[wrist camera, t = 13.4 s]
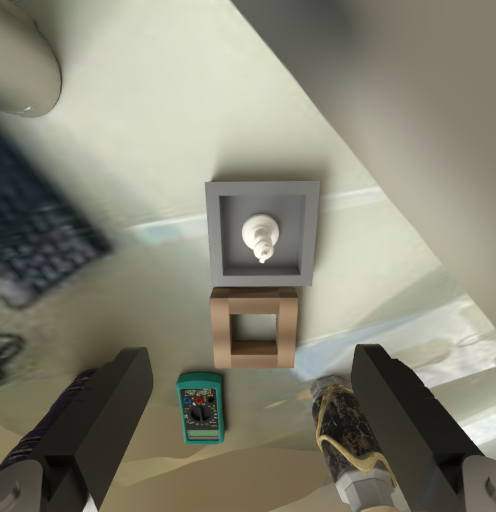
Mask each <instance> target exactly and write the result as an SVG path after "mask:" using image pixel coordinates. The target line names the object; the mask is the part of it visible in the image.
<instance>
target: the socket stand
mask: <svg viewBox="0 0 496 512" xmlns="http://www.w3.org/2000/svg"><path fill="white" fill-rule="evenodd" d="M210 308H211V321H212V335H213V349H214V363H215V368H294V358H295V343H296V328H297V313H298V295H297V293H296V290H295V288H213V290H212V293H211V296H210ZM231 314H277V317H276V341H232V323H231Z"/></svg>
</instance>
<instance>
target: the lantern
mask: <svg viewBox="0 0 496 512" xmlns="http://www.w3.org/2000/svg"><path fill="white" fill-rule="evenodd" d="M310 391H311V395H312V397H313V402H314V404H313V408H312V415H313V420H314V423H315V426H316V430H317V434H316V436H317V441H318V445H319V447H320V449H321V451H322V452H323V454H324V457H325V460H326V464H327V467H328V471H329V474H330V476H331V478H332V480H333V482H334V483H335V484H336V487H337V489H338V492H339V494H340V497H341V499H342V501H343V502H345V503H348V504H350V506H351V509H352V511H353V512H400V511H399V510H398V509H397V508H396V507H395V506H394V503H393V500H392V498H391V494H392V493H393V492H394V491H395V490H394V488H396V486H397V484H396V480H395V477H394V474H393V472H392V470H391V468H390V466H389V464H388V462H387V460H386V458H385V456H384V454H383V452H382V450H381V448H380V445H379V443H378V441H377V439H376V437H375V435H374V433H373V431H372V429H371V427H370V425H369V423H368V421H367V419H366V417H365V415H364V412H363V410H362V408H361V406H360V404H359V402H358V400H357V398H356V397H355V395H354V393H353V391H352V390H350V389H348V387H347V384H346V382H345V380H344V379H341V378H338V377H335V376H330V377H327V378H323V379H319V380H316V382H315V383H314V384H313V386H312V387H311V388H310Z"/></svg>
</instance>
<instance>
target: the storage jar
mask: <svg viewBox="0 0 496 512" xmlns="http://www.w3.org/2000/svg"><path fill="white" fill-rule="evenodd" d="M97 370H99V369H92V370H87V371H84V372H82V373H81V374H80V375H78V376H77V378H76V379H75V380H74V382H73V383H71V384H70V386H68V387H67V388H66V389H65V390H64V391H63V392H62V394H61V395H60V396H59V398H58V399H57V400H56V401H55V403H54V404H53V405H52V406H51V408H50V410H49V412H48V413H47V414H46V415H45V417H44V418H43V419H42V420H41V421H40V422H39V423H38V425H37V426H36V427H35V428H34V429H33V430H32V431H30V432H29V433H28V434H27V435H26V436H25V437H23V438H22V439H21V440H20V442H19V444H18V445H17V446H16V447H15V448H13V449H12V451H11V452H10V453H9V454H8V455H7V456H6V458H4V460H3V462H2V463H1V464H0V471H1V470H3V469H5V468H6V467H8V466H10V465H12V464H15V463H17V462H20V461H24V460H25V459H26V457H27V456H28V455H29V454H30V453H31V452H32V450H33V449H34V448H35V446H36V445H37V444H38V443H39V441H40V440H41V439H42V438H43V436H44V435H45V434H46V433H47V431H48V430H49V429H50V428H51V426H52V425H53V424H54V422H55V421H56V420H57V419H58V417H59V416H60V415H61V414H62V412H63V411H64V410H65V409H66V407H67V406H68V405H69V404H70V403H72V400H73V399H74V397H75V396H76V395H77V393H78V392H79V391H81V390H82V387H83V386H84V385H85V383H86V382H87V381H88V380H89V378H90V377H91V376H92V375H93V374H94V373H95V372H96V371H97Z"/></svg>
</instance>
